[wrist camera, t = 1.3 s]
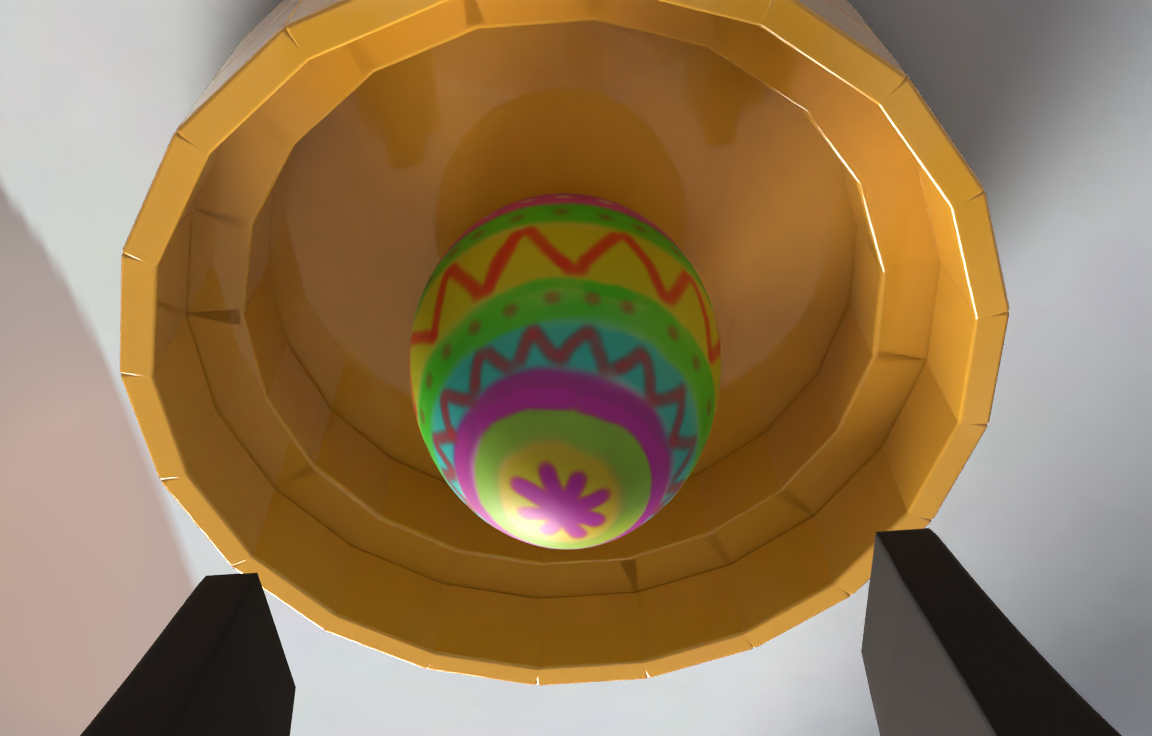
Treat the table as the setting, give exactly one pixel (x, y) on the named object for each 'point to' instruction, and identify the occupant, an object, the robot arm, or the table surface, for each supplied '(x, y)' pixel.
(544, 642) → the bowl
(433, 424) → the egg
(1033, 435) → the table surface
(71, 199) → the table surface
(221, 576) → the robot arm
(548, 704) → the table surface
